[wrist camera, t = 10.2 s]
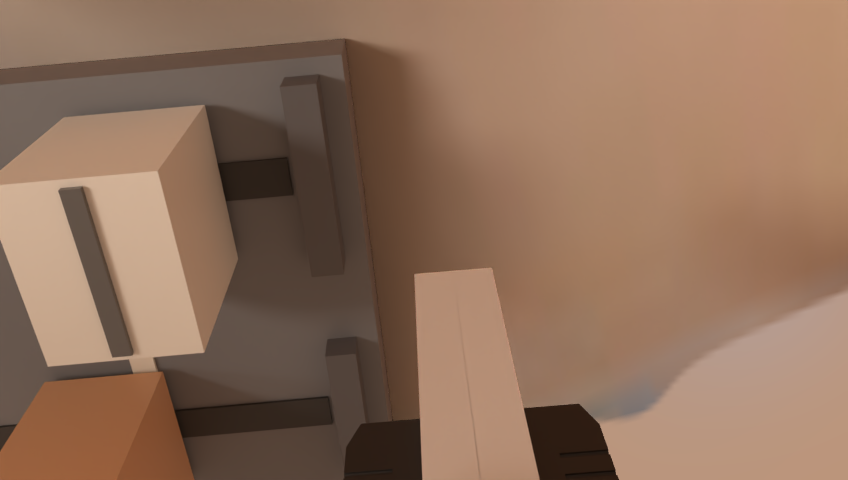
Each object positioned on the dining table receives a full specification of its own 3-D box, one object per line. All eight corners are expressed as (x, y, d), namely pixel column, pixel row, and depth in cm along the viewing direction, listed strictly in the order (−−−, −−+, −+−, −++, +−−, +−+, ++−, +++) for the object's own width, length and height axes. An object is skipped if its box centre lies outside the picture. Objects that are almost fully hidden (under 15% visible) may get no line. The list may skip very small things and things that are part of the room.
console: (-200, 500, 31) (-256, 562, 28) (-450, 99, 23) (-559, 131, 20) (395, 446, 31) (396, 503, 28) (343, 28, 23) (338, 52, 20)
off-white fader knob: (111, 270, 24) (45, 370, 19) (63, 117, 22) (-23, 189, 17) (238, 258, 24) (203, 356, 19) (204, 104, 22) (155, 173, 17)
